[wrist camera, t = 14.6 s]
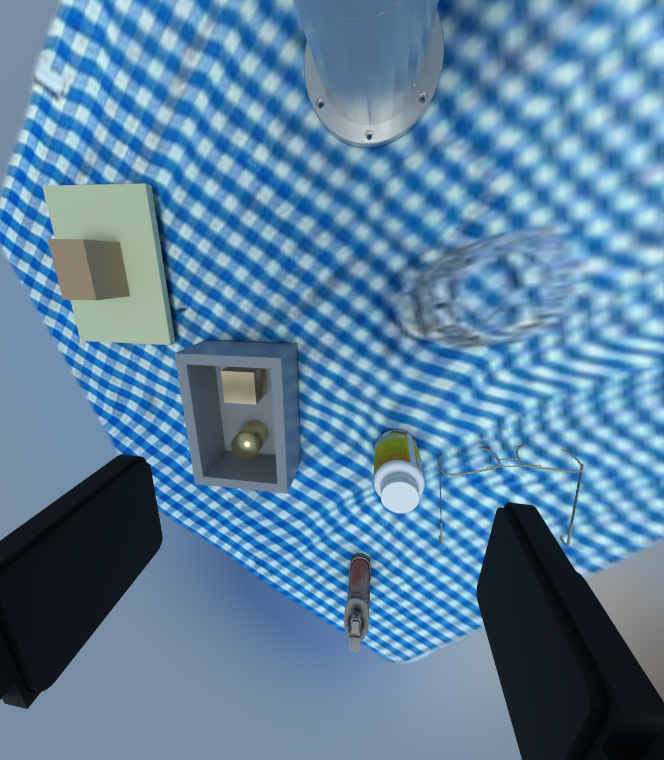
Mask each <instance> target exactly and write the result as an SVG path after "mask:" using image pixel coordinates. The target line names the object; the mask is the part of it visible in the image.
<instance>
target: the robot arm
mask: <svg viewBox="0 0 664 760" xmlns="http://www.w3.org/2000/svg"><path fill="white" fill-rule="evenodd" d="M438 1H439V0H294V3H295V6H296V9H297V12H298V15H299V18H300V21H301V24H302V27H303V29H304V32H305V35H306V38H307V44H306V49H305V58H304V74H305V84H306V88H307V92H308V96H309V100H310V102H311V104H312V107H313V109H314V111H315V113H316V115H317V117H318V118H319V120H320V122H321V123H322V124H323V125H324V127H325V128H326V129H327V130H328V131H329V132H330V133H331V134H332V135H333V136H335V137H336V138H337V139H339V140H341V141H343V142H345V143H347V144H349V145H353V146H357V147H369V148H372V147H377V146H382V145H386V144H388V143H390V142H392V141H395V140H397V139H398V138H400V137H401V136H403V135H404V134H405V133H407V132H408V131H409V130H410V129H411V128H412V127H413V126H414V125H415V124H416V123H417V122H418V121H419V120H420V118H421V117H422V116H423V114H424V113H425V111H426V110H427V108H428V106H429V104H430V102H431V100H432V98H433V96H434V94H435V91H436V88H437V86H438V83H439V79H440V75H441V71H442V67H443V57H444V37H443V29H442V25H441V20H440V16H439V13H438V11H437V6H438ZM421 98H424V100H425V101H424V102H423V103H422V102H420V101H419V100H420V99H421ZM321 104H323V105H324V106H323V108H319V106H320V105H321ZM369 135H371V136H372V139H371V140H368V139H367V137H368V136H369ZM161 543H162V531H161V525H160V519H159V513H158V507H157V501H156V495H155V490H154V484H153V478H152V472H151V467H150V465H149V463H147V462H146V460H145V458H144V457H141V456H133V455H125V454H123V455H119V456H117V457H116V458H115V459H113V460H111V461H110V462H109V463H107V464H106V465H105V466H103V467H102V468H100V469H99V470H98V471H96V472H95V473H93V474H92V475H91V476H89V477H88V478H86V479H85V480H84V481H82V482H81V483H80V484H78V485H77V486H75V487H74V488H73V489H71V490H70V491H68V492H67V493H66V494H64V495H63V496H61V497H60V498H59V499H57V500H56V501H55V502H53V503H52V504H50V505H49V506H48V507H46V508H45V509H43V510H42V511H41V512H40V513H38V514H37V515H35V516H34V517H33V518H31V519H30V520H28V521H27V522H26V523H24V524H23V525H21V526H20V527H19V528H17V529H16V530H14V531H13V532H12V533H10V534H9V535H7V536H6V537H5V538H4V539H2V540H1V541H0V699H1V698H2V699H3V701H4V703H5V704H9V705H13V706H17V707H22V708H25V709H28V708H29V706H30V705H31V704H32V703H33V701H34V700H35V699H36V698H37V696H38V695H39V694H40V693H41V691H44V690H46V689H48V688H49V687H50V686H52V684H53V683H54V682H55V681H56V680H57V678H58V677H59V676H60V675H61V673H62V672H63V671H64V670H65V668H66V667H67V666H68V665H69V663H70V662H71V661H72V659H73V658H74V657H75V655H76V654H77V653H78V652H79V650H80V649H81V648H82V647H83V646H84V644H85V643H86V641H87V640H88V639H89V638H90V636H91V635H92V634H93V633H94V632H95V630H96V629H97V628H98V626H99V625H100V624H101V623H102V621H103V620H104V619H105V617H106V616H107V615H108V614H109V612H110V611H111V610H112V609H113V607H114V606H115V605H116V603H117V602H118V601H119V600H120V598H121V597H122V596H123V595H124V593H125V592H126V591H127V590H128V588H129V587H130V586H131V584H132V583H133V582H134V581H135V579H136V578H137V577H138V575H139V574H140V573H141V572H142V570H143V569H144V568H145V567H146V565H147V564H148V563H149V562H150V560H151V559H152V558H153V556H154V555H155V554H156V552H157V551H158V550H159V548H160V546H161ZM477 600H478V605H479V608H480V612H481V615H482V619H483V622H484V626H485V629H486V633H487V636H488V640H489V643H490V647H491V651H492V654H493V658H494V661H495V665H496V668H497V672H498V676H499V679H500V683H501V686H502V690H503V693H504V697H505V700H506V704H507V708H508V711H509V715H510V718H511V722H512V725H513V729H514V733H515V736H516V739H517V743H518V747H519V750H520V754H521V757H522V760H664V702H663V700H662V699H661V697H660V696H659V694H658V693H657V691H656V690H655V688H654V686H653V685H652V683H651V682H650V680H649V679H648V677H647V675H646V674H645V672H644V671H643V669H642V668H641V666H640V665H639V663H638V661H637V660H636V658H635V657H634V655H633V654H632V652H631V650H630V649H629V647H628V646H627V644H626V643H625V641H624V640H623V638H622V636H621V635H620V633H619V632H618V630H617V629H616V627H615V626H614V624H613V623H612V621H611V619H610V618H609V616H608V615H607V613H606V611H605V610H604V608H603V607H602V605H601V604H600V602H599V601H598V599H597V597H596V596H595V594H594V593H593V591H592V590H591V588H590V587H589V585H588V583H587V582H586V581H585V579H584V578H583V577H582V576H581V574H579V573H578V572H576V571H575V569H574V568H573V566H572V564H571V563H570V561H569V560H568V558H567V556H566V555H565V553H564V552H563V550H562V548H561V547H560V545H559V544H558V542H557V541H556V539H555V537H554V536H553V534H552V533H551V531H550V529H549V528H548V526H547V525H546V523H545V521H544V520H543V518H542V517H541V515H540V514H539V512H538V510H537V509H536V508H535V507H534V506H532V505H526V504H518V503H510V502H508V503H506V504H505V506H504V508H498V509H497V511H496V514H495V518H494V522H493V526H492V530H491V534H490V538H489V542H488V545H487V549H486V553H485V557H484V561H483V565H482V569H481V573H480V576H479V580H478V584H477Z"/></svg>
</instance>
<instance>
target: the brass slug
mask: <svg viewBox="0 0 664 760" xmlns="http://www.w3.org/2000/svg"><path fill="white" fill-rule="evenodd" d="M268 435H269V432H268V429H267V427H266V426H265V425H264V424H263V423H261V422H259V421H256V420H253V421H249V422H247V423H246V424H245V425H244V426H243V428H242V429H241V430H240V431H239V432H238V434H237V435H236V436H235V437H234V438H233V439H232V441H231V449H232V451H233V453H234V454H235V455H236V456H237V457H239V458H241V459H244V460H250V459H253V458H254V457H256V455H257V454H258V452H259V451H260V449H261V448H262V446H263V445H264V443H265V442H266V440H267V439H268Z"/></svg>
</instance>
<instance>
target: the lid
mask: <svg viewBox="0 0 664 760" xmlns="http://www.w3.org/2000/svg"><path fill="white" fill-rule="evenodd" d="M42 187H43V191H44V195H45V199H46V203H47V207H48V211H49V215H50V219H51V223H52V227H53V231H54V235H55V239H48V242H49V246H50V250H51V254H52V258H53V262H54V265H55V269H56V273H57V277H58V281H59V285H60V289H61V293H62V297H63V300H71V304H72V308H73V312H74V316H75V320H76V324H77V328H78V332H79V336H80V340H81V341H99V342H120V343H140V344H161V345H172V344H174V343H175V338H174V331H173V325H172V318H171V312H170V305H169V298H168V292H167V285H166V278H165V272H164V265H163V259H162V252H161V245H160V239H159V232H158V225H157V219H156V212H155V206H154V199H153V192H152V186H151V185H148V184H106V185H61V186H42Z"/></svg>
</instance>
